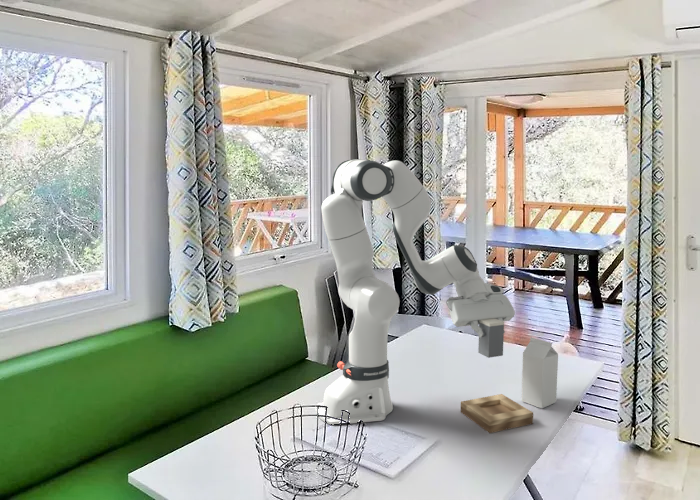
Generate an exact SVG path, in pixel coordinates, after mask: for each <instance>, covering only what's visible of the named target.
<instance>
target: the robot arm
mask: <svg viewBox="0 0 700 500" xmlns="http://www.w3.org/2000/svg"><path fill="white" fill-rule="evenodd" d="M331 177H332V178H331V179H332V180H331V188H330V193H331V194H330V195H329V196H328V197H326V198H325V199H324V200H323V202H322V204H321V215H322V222H323V227H324V231H325V234H326V237H327V241H328V243H329V246H330V247H329V248H330V249H331V253H332V255H333V258H334V262H335V267H336V271H337V277H338V279H337V280H338V291H337V292H338V295H339V297H340V299H341V301H342V302H343V303H344V304H345V305H346V307H347V308H350V309H351V310H353V311H354V315H355V318H354V322H353V323H354V324H353V327H352V330H351V332H350V333H349V334H348V360H347V362H346V363H344V362H343V361H341V360H340V361H338V363H337V364H336V366H337V368H338V369H339V370H341V371H342V374H341V375H340V376H339V377H338V378H336V379H335V381H333V382H331V384H329V386H327V387H326V388H325V390H324V392H323V393H324V394H323V399H322V400H323V401H322V402H318V403H317V404H316V405H325V406H327V407H328V408H327V415H328V416H332V417H335V418H339V419H340V418H341V413H342V411H341V410H348V411H349V412H350V415H349V417H350V418H349V421H350V424H357V422H358V421H359V420H360V419H361V420H362V421H363V422H362V423H369V422H380V421H384V420H385V419H386V417H387V416H388V415H389V414H391V412H392V411H393V409H394V406H393V402H392V399H391V394H390V387H389V378H390V377H389V376H390V365H389V363H390V362H389V360H388V334H389V329H390V325H391V323H392V322H391V321H392V318H393V317H394V316H395V315H397V312H398V311H399V307H400V302H401V301H400V297H399V294H398V293H397V291H396V290H395V289H394V288H393V287H392V286H391V285H390V284H389V283H388V282H386V281H383V280H382V279H378V278H377V276H376V275H375V272H374V265H373V257H374V254H375V253H374V247H373V245H372V242H371V238H370V236H369V233H368V229H367V226H366V222H365V221H364V218H363V212H362V209H363V208H362V207H363V202H364V201H365V202H371V201H373V202H374V201H376V200H378V199H380V198H383V199H384V200H385V202H386V204H388V206H389V208H390V209H391V211H392V213H393V218H394V221H393V222H392V231H393V235H394V238H395V240H396V242H397V244H398V247H399V249H400V251H401V253H402V255H403V257H404V259H405V262H406V263H407V265H408V268H409V271H410V273H411V275H412V278H413V280H414V283H415V285H416V288H418V290H419V291H420V292H421V293H423V294H427V295H436V294H437V293H439V292H440V291H441V290H443V289H444V288H446V287H448V286H449V285H451V284H453V286H455V290H456V294H457V296H455V297H454V296H450V297H449V298H448V299H447V300H446V302H445V303H446V306H447V308H448V311H449V315H450V319H451V322H452V324H453V325H454V326H455V327H457V328H459V327H460V328H461V327H468V326H469V327H470V328H471V329H472V330H473V331H474V332H475V333H476V334H477V336H478V338H479V337H485V336H486V332H485V330H484V329H481V328H480V327H479V320H486V319H494V318H495V319H498V320H500V321H503V322H507V321H508V322H509V321H511V320H512V319H513V318H514V316H515V313H516V312H515V309H514V306H513V305H512V303H511V301H510V299H509V298H508V297H507V296H506V295H505V294H504V289H503V287H501V286H498V285H494V284H490V283H487V282H485V281H484V279H483V278H482V277H481V276H480V273H479V269H478V263H477V261H476V260H475V258H474V255H473V252H472V251H470V249H469V248H467V247H465V246H463V245H458V244H455V245H452V246H450V247H448V248H446V249H444V250H443V251H441V252H439V253H438V254H436V255H433V256H432V257H430V258H429V259H426V260H422V258H421V256H420V254H419V252H418V251H417V248H416V245H415V243H414V241H413V239H414V236H415V235H416V233H417V231H418V230H420V227H422V225H424V223H425V222H426V221H427V218H428V217H429V215H430V212H431V207H432V202H431V197H430V195H429V193H428V192H427V190H426V188H425V187H424V186H423V184H422V183H421V182H420V180H419V179H418V178H417V176H416V175H415V174H414V172H413V171H412V170H411V169H410V168H409V167H408V166H407V165H406V164H405V163H404V162H403V161H401V160H390V161H387V162H386V163H384V164H383V163H380V162H378V161H376V160H370V159H369V160H367V159H361V158H358V159H357V158H356V159H355V158H354V159H348V160H344V161H343V162H341V163H339V164H338V165H337V166H336V167H335V169H334V171H333V173H332V176H331ZM504 334H505V330H504ZM325 411H326V410H325V408H319V409H318V413H319V415H325ZM315 413H317V409H316V408H315ZM318 418H319V419H320V420H321V421H322V422H325V418H324V417H318ZM342 418H343V420H346V421H347V420H348V413H347V412H345V411H343V417H342ZM339 422H340V421H338V420H335V419H332V418H327V423H326V422H325V423H326V424H328V425H331V424H332V426H335V425H334V424H339Z"/></svg>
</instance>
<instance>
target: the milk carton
mask: <svg viewBox="0 0 700 500" xmlns="http://www.w3.org/2000/svg"><path fill="white" fill-rule="evenodd" d="M552 344H553V343H552V342H549V341H546V340H542V339H538V338H536V337H535V338H534V337H530V341H529V343H528V344H527V345H526V347H525V349H524V350H523V352H522V369H521V370H522V372H521V375H522V376H521V401H522V402H524V403H525V404H529V405H532V406H534V407H536V408H538V409H544V408H546V407H549V406H551V405H553V404H555V403H557V394H558V393H557V390H558V387H557V386H558V370H559V369H558V368H559V352H557V351H556V350H555V349H554V347H553V346H552Z"/></svg>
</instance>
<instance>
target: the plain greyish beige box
mask: <svg viewBox="0 0 700 500" xmlns="http://www.w3.org/2000/svg"><path fill="white" fill-rule="evenodd" d="M478 326H479V327H480V328H481V329H484V330H485V332H486V336H485V337H479V336H478V349H477V351H478V352H477V353H478V354H480V355H483V356H484V357H486V358H488V359H489V358H496V357H502V356H503V355H504V340H505V339H504V338H505V337H504V335H505V333H504V331H505V321H500V320H498V319H495V318H494V319H486V320H479V324H478Z"/></svg>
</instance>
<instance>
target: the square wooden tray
mask: <svg viewBox="0 0 700 500" xmlns="http://www.w3.org/2000/svg"><path fill="white" fill-rule="evenodd" d="M460 413H461V414H462V415H463V416H466V418H468V419H469V420H471V421H472V422H473V423H474V424H476V425H478V426H479V427H480V428H482V429H483V430H484V431H486V432H487V433H489V434H492V433H497V432H501V431H506V430H510V429H515V428H520V427H525V426H529V425H533V424H534V411H532V410H530V409H528V408H526V407H524V406H523V405H521V404H519V403H518V402H516V401H514V400H513V399H511V398H509V397H508V396H506V395H505V394H502V393H500V394H493V395H490V396H489V395H488V396H483V397H478V398H473V399H467V400H463V401H462V400H461V401H460Z"/></svg>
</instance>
